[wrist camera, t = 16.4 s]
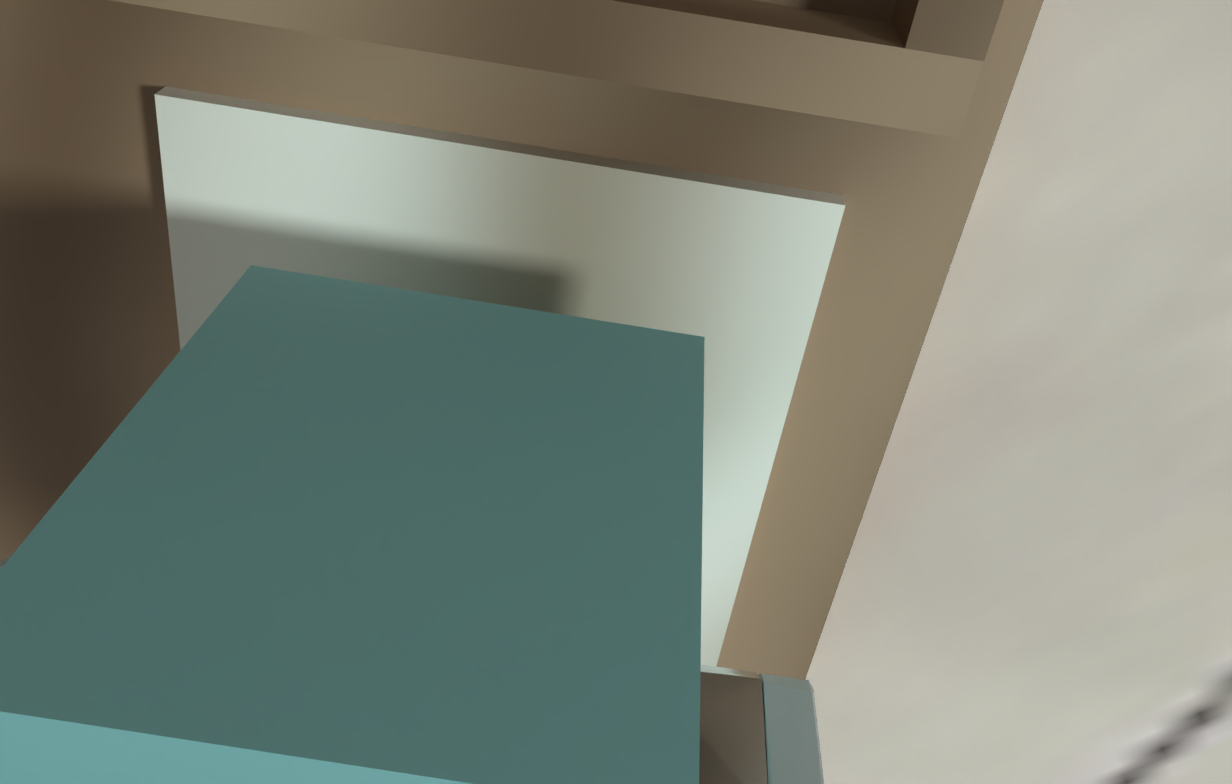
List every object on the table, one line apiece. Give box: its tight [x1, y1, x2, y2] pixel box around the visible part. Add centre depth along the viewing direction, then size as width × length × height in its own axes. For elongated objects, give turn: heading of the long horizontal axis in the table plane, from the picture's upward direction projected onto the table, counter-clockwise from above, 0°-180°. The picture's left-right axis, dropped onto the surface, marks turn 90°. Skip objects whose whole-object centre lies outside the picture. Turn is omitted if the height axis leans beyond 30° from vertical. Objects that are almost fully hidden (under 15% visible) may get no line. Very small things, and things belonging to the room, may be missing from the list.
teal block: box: [0, 265, 705, 784], centre depth 10 cm, size 5×5×6 cm
